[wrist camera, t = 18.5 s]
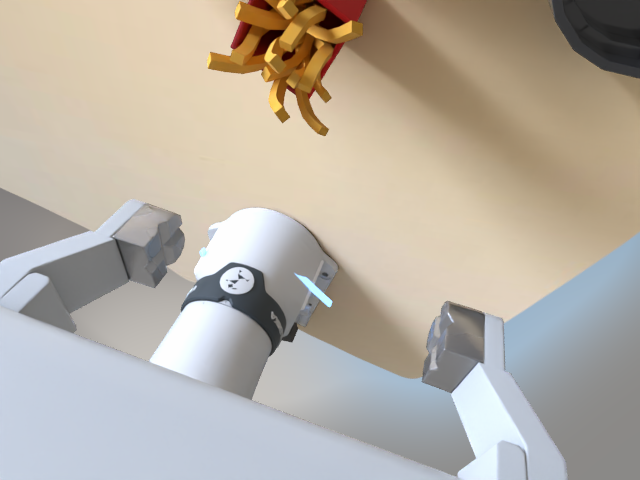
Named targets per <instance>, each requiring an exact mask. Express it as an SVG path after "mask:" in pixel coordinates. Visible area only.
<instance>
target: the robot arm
mask: <svg viewBox="0 0 640 480" xmlns="http://www.w3.org/2000/svg"><path fill="white" fill-rule="evenodd" d="M181 225H182V219H181V215H178V214H176V213H173V212H170V211H168V210H165V209H162V208H159V207H156V206H153V205H151V204H147V203H144V202H142V201H139V200H136V199H132V200H129V201H127V202H126V203H125V204H124V205H123V206H122V207H121V208H120V209H119V210H118V211H117V212H116V213H114V214H113V215H112V216H111V217H110V218H109V219H108V220H107V221H106V222H105V223H104V224H103V225H102V226H101V227H100V228H98V229H97V230H96V231H95V232H93V231H88V232H85V233H82V234H79V235H76V236H73V237H70V238H67V239H64V240H61V241H58V242H55V243H52V244H49V245H46V246H43V247H40V248H37V249H34V250H31V251H28V252H25V253H22V254H19V255H16V256H13V257H10V258H7V259H4V260H3V261H2V262H1V263H0V480H568V476H567V468H566V461H565V460H564V458H563V456H562V455H561V453H560V452H559V450H558V448H557V447H556V445H555V444H554V442H553V440H552V439H551V437H550V436H549V434H548V432H547V431H546V429H545V428H544V426H543V424H542V423H541V421H540V419H539V418H538V416H537V415H536V413H535V411H534V410H533V408H532V407H531V405H530V403H529V402H528V400H527V399H526V397H525V395H524V394H523V392H522V391H521V389H520V387H519V386H518V384H517V382H516V381H515V379H514V378H513V376H512V374H511V373H509V372H506V371H505V351H504V322H503V320H502V318H500V317H497V316H494V315H491V314H487V313H484V312H482V311H479V310H476V309H472V308H469V307H466V306H463V305H459V304H456V303H453V302H450V301H446V302H445V303H444V305H443V306H442V308H441V316H438V317H436V318H435V320H434V322H433V323H432V326H431V329H430V331H429V335H428V339H427V346H426V348H427V350H428V352H429V355H428V356H427V358H426V359H425V361H424V369H423V377H422V382H423V383H426V384H429V385H431V386H434V387H437V388H439V389H442V390H445V391H447V392H450V393H452V394H451V396H452V399H453V401H454V403H455V406H456V409H457V411H458V413H459V416H460V419H461V421H462V424H463V426H464V429H465V431H466V434H467V436H468V439H469V441H470V443H471V446H472V449H473V451H474V454H475V456H476V459H475V460H474V461H473V462H471V463H470V464H468V465H467V466H466V467H464V468H463V469H462V470H460V471H459V472H458V477H455V476H453V475H450V474H447V473H445V472H442V471H439V470H437V469H434V468H431V467H429V466H426V465H423V464H421V463H418V462H415V461H412V460H410V459H407V458H405V457H402V456H399V455H397V454H394V453H391V452H389V451H386V450H383V449H381V448H378V447H375V446H373V445H370V444H367V443H365V442H362V441H359V440H357V439H354V438H351V437H349V436H346V435H343V434H341V433H338V432H336V431H333V430H330V429H328V428H325V427H322V426H320V425H317V424H314V423H311V422H309V421H306V420H304V419H301V418H298V417H296V416H293V415H290V414H288V413H285V412H282V411H280V410H277V409H274V408H272V407H269V406H266V405H264V404H261V403H258V402H256V401H253V400H252V397H253V394H254V391H255V389H256V386H257V384H258V381H259V379H260V376H261V373H262V371H263V369H264V366H265V364H266V362H267V359H268V357H269V356H271V355H272V354H273V353H274V351H275V350H276V348H277V347H278V346H279V344H280V342H281V340H283V341H288V342H292V341H293V340H294V337H295V334H296V332H297V330H298V327H297V324H299V325H301V326H304V327H306V325H307V323H308V321H309V319H310V316H311V315H312V313H313V311H314V310H315V308H316V306H317V305H318V303H319V301H320V300H321V301H323V302H324V303H325V304H326V305H327V306H328V307H331V304H332V301H331V300H330V299H329V298H328V297H327V296H326V295H325V294H324V293H325V291H326V289H327V288H328V286H329V284H330V283H331V281H332V279H333V278H334V276H335V274H336V272H337V270H338V265H337V264H336V263H335V262H334V261H333V260H332V259H331V258H330V257H329V256H328V255H326V254H325V253H324V252H323V251H322V249H321V248H320V246H319V244H318V243H317V241H316V240H315V238H314V237H313V236H312V234H311V233H310V232H309V231H308V230H307V229H306V228H305V227H304V226H302V225H301V224H300V223H298V222H297V221H295V220H294V219H292V218H290V217H288V216H287V215H284V214H282V213H280V212H277V211H274V210H270V209H265V208H247V209H242V210H240V211H237V212H236V213H234V214H233V215H232V216H230V217H229V218H228V219H227V220H226V221H224V222H219V223H215V224H212V225H211V226H210V228H209V230H208V235H209V238H210V241H211V242H210V244H209V245H208V247H207V249H206V250H205V248H202V250H201V251H200V254H201V259H200V261H199V262H198V264H197V266H196V268H195V270H194V274H195V276H196V280H197V282H196V284H195V285H194V287H193V288H192V289H191V290H190V291H189V293H188V294H187V296H186V299H185V301H184V303H183V305H182V307H181V314H180V315H179V317H178V318H177V320H176V321H175V323H174V324H173V326H172V327H171V329H170V330H169V332H168V333H167V335H166V336H165V338H164V339H163V341H162V342H161V344H160V345H159V347H158V348H157V350H156V352H155V353H154V354H153V356H152V357H151V359H150V360H149V361H146V360H143V359H141V358H138V357H136V356H133V355H130V354H128V353H125V352H122V351H119V350H117V349H114V348H111V347H109V346H106V345H104V344H101V343H98V342H96V341H93V340H90V339H88V338H85V337H82V336H80V335H77V334H74V332H75V331H76V324H75V323H74V321H73V319H72V317H71V316H70V313H71V312H73V311H75V310H77V309H79V308H81V307H82V306H85V305H87V304H88V303H90V302H92V301H94V300H96V299H98V298H100V297H102V296H103V295H105V294H107V293H109V292H111V291H113V290H115V289H116V288H118V287H120V286H122V285H124V284H126V283H128V282H129V280H131V281H134V282H137V283H140V284H143V285H146V286H149V287H152V288H155V287H156V286H157V285H158V283H159V282H160V281H161V280H162V278H163V277H164V276H165V275H166V273H167V265H170V264H172V263H174V262H176V260H177V259H178V258H179V256H180V255H181V253H182V250H183V248H184V242H185V237H184V233H183V232H182V231H181V230H180V228H179V227H180V226H181Z"/></svg>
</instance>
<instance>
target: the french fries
mask: <svg viewBox="0 0 640 480" xmlns="http://www.w3.org/2000/svg"><path fill="white" fill-rule="evenodd" d="M366 2H367V0H249V2H248V4H246V3H244V2H241V1H239V3H238V6H237V8H236V10H235V16H236V19H238V20H240V21H241V22H240V25H239V27H238V30H237V32H236V35H235V37H234V40H233V42H232V45H231V48H232V49H234V50H232V53H231V56H226V55H221V54H217V53H212V52H210V54H209V57H208V60H207V63H208V69H213V70H218V71H223V72H231V73H241V74H245V73H250V72H255V71H259V70H262V71H263V72H262V73H261V75H262V77H263V78H264V80H265V82H269V81H273V80H274V83H273V85H272V88H271V91H270V95H269V103H270V107H271V108H272V110H273V111H274V113H275V114H276V115H277V117H278V118H279V119H280V121H281V122H282V123H283V122H285V121H286V120H287V119H288V118H290V116H289V115H288V113H287V112H286V111H285V109H284V106H283V103H284V96H285V92H286V88H287V89H288V90H289V91H291V92H292V93H294V94H295V95H296V98H297V102H298V106H299V109H300V111H301V114H302V117H303V118H304V119H305V121H306V122H307V123H308V125H309V126H310V127H311V128H312V129H313V130H314V131H315V132H317V133H318V134H320V135H323V136H326V134H327V132H328V130H329V129H328V128H327V127H326V126H325V125H323V124H322V123H321V122H320V121H319V119H318V118H317V117H316V116H315V114H314V112H313V110H312V107H311V105H310V102H309V99H310V97H311V96H312V94H313V92H314V91H315V90H316V92H317V93H318V94H319V96H320V97H321V98H322V99H323V100H324V102H325V103H327V102H328V101H329V100H330V99H331V96H330V95H329V93H328V92H327V90H326V89H325V88H324V87H323V86H322V84H321V80H322V78H323V76H324V75H325V73H326V72H327V70H328V69H329V67H330V65H331V64H332V62H333V61H334V59H335V57H336V56H337V54H338V53H339V51H340V49H341V48H342V46H343V45H344V43H345V42H347V41H350V40H353V39H355V38H357V37H360V36H362V35H363V24H362V23H359V22H358V19H359V17H360V15H361V13H362V10H363V8H364V6H365V4H366Z"/></svg>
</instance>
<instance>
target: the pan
mask: <svg viewBox="0 0 640 480" xmlns="http://www.w3.org/2000/svg"><path fill="white" fill-rule="evenodd" d="M548 2H549V5H550V8H551V11H552V14H553V16H554V19H555V22H556V23H557V25H558V26H559V28H560V30H561V31H562V33H563V34H564V36H565V38H566V39H567V41H568V42H569V44H570V46H571V47H572V49H573V50H574V51H575V52H577V53H578V54H580V55H581V56H583V57H584V58H586V59H587V60H589V61H590V62H592V63H593V64H594V65H596V66H597V67H599V68H600V69H603V70H605V71H610V72H614V73H618V74H622V75H627V76H631V77H635V78H640V0H548Z"/></svg>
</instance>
